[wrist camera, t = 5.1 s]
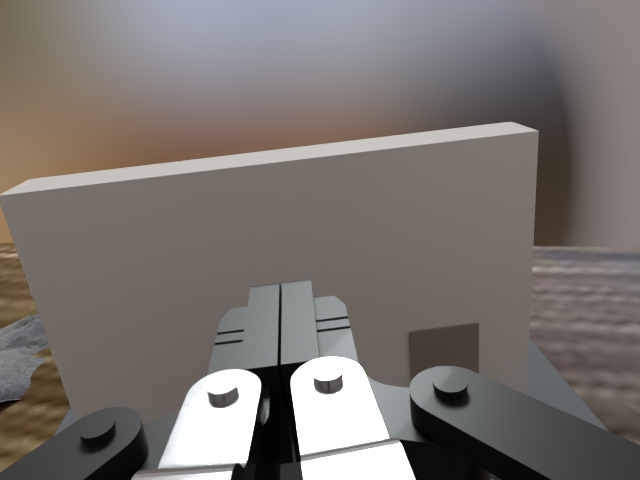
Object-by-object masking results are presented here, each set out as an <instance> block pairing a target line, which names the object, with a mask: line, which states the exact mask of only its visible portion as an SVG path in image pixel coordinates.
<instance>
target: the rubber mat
mask: <svg viewBox="0 0 640 480" xmlns="http://www.w3.org/2000/svg"><path fill="white" fill-rule="evenodd" d="M526 395H528V396H530V397H532V398H535V399H537V400H539V401H541V402H544V403H546V404H548V405H550V406H553V407H555V408H557V409H559V410H562V411H564V412H566V413H568V414H571V415H573V416H575V417H577V418H580V419H582V420H584V421H586V422H589V423H591V424H593V425H595V426H598V427H600V428H602V429H604V430H607V429H606V428H605V427H604V425H603V424H602V423H601V422H600V421H599V419H598V418H597V417H596V416H595V415H594V414H593V412H592V411H591V410H590V409H589V408H588V406H587V405H586V404H585V403H584V402H583V401H582V399H581V398H580V397H579V396H578V395H577V394H576V392H575V391H574V390H573V389H572V388H571V386H570V385H569V384H568V383H567V382H566V381H565V379H564V378H563V377H562V376H561V375H560V373H559V372H558V371H557V370H556V369H555V368H554V366H553V365H552V364H551V363H550V362H549V361H548V359H547V358H546V357H545V356H544V355H543V353H542V352H541V351H540V350H539V349H538V348H537V346H536V345H535V344H534V343H533V342H532V340H531V339H530V338H529V346H528V367H527V389H526ZM75 422H76V420H75V418H74V415H73V412H72V409H71V408H70V409H69V411H68V413H67V415H66V416H65V418H64V420H63V421H62V423H61V425H60V426H59V428H58V430H57V431H56V433H55V435H57V434H58V433H60V432H61V431H63V430H64V429H66V428H67V427H69V426H70V425H72V424H73V423H75ZM607 431H608V430H607ZM55 435H54V436H55ZM54 436H53V437H54ZM491 478H492V479H494V480H501V479H499V478H498V477H496V476H494V475H493V474H491ZM280 480H304V479H303V472H302V464H301V462H296V457H295V450H294V444H293V463H287V464H281V468H280Z"/></svg>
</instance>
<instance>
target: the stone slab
mask: <svg viewBox="0 0 640 480" xmlns="http://www.w3.org/2000/svg"><path fill="white" fill-rule="evenodd" d="M48 346H49V343H48V340H47V337H46V334H45V331H44V328H43V325H42V322H41V320H40V317H39V314H36V315H34V316H28V317H26V318H24V319H22V320H20V321H17V322H15V323H13V324H11V325H9V326H7V327H4V328H2V329H0V402H4V401H8V400H21V399H20V398H21V397H22V396H23V395H24V393H25V392H26V390H27V389H28V388H29V386H30V383H31V380H30V377H31V375H32V373H33V371H35V370H36V368H37V367H38V366H39V365H41V364H42V363H43V362H44V361H45V360H44V359H41V358H33V357H31V355H32V354H34V353H36V352H39V351H40V350H42V349H45V348H47V347H48Z"/></svg>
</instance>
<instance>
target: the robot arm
mask: <svg viewBox="0 0 640 480" xmlns="http://www.w3.org/2000/svg"><path fill="white" fill-rule="evenodd" d="M293 444H294V450H295V457H296V462H301V464H302V472H303V479H304V480H494V479H492V478H491V474H493V475H494V476H496V477H498V478H499V479H501V480H640V445H638V444H636V443H634V442H631V441H629V440H627V439H625V438H622V437H620V436H618V435H616V434H613V433H611V432H609V431H607V430H604V429H602V428H600V427H598V426H595V425H593V424H591V423H589V422H586V421H584V420H582V419H580V418H577V417H575V416H573V415H571V414H568V413H566V412H564V411H562V410H559V409H557V408H555V407H553V406H550V405H548V404H546V403H544V402H541V401H539V400H537V399H535V398H532V397H530V396H528V395H526V394H523V393H521V392H519V391H517V390H514V389H512V388H510V387H508V386H505V385H503V384H501V383H499V382H496V381H494V380H492V379H489V378H487V377H485V376H483V375H480V374H478V373H476V372H474V371H471V370H469V369H466V368H462V367H456V366H438V367H433V368H429V369H426V370H424V371H422V372H420V373H419V374H417V375H416V376H415V377H414V378H413V380H412V381H411V384H410V388H408V387H397V386H390V385H385V384H382V383H379V382H376V381H374V380H372V379H371V378H369V377H368V376H366V375H365V372H364V370H363V369H362V367H361V366H360V365H359V362H358V357H357V353H356V349H355V345H354V340H353V336H352V332H351V328H350V323H349V319H348V314H347V310H346V306H345V304H344V303H343V302H342V301H340V300H339V299H338V298H337V297H336V296H326V297H318V298H313V291H312V283H311V279H306V280H298V281H290V282H282V289H281V285H280V283H275V284H266V285H258V286H251V287H250V293H249V300H248V306H246V307H238V308H231V309H230V310H229V311H228V312H227V313H226V314H225V316H224V317H223V318H222V319H221V320H220V323H219V327H218V331H217V335H216V339H215V346H214V348H213V352H212V356H211V360H210V364H209V369H208V373H207V376H206V377H204V378H202V379H201V380H199V381H198V382H197V383H195V384H194V385H193V386H192V387H191V389H190V390H189V391H188V393H187V395H186V398H185V401H184V403H183V406H182V408H181V410H179V411H177V412H175V413H173V414H171V415H168V416H166V417H163V418H160V419H157V420H154V421H151V422H148V423H145V424H143V423H142V420H141V417H140V415H139V414H138V412H136V411H135V410H133V409H131V408H127V407H110V408H105V409H101V410H98V411H95V412H93V413H90V414H88V415H86V416H84V417H82V418H81V419H79V420H78V421H76V422H75V423H73V424H72V425H70V426H69V427H67V428H66V429H64V430H63V431H61V432H60V433H58V434H57V435H55V436H54V437H52V438H51V439H49V440H48V441H46V442H45V443H43V444H42V445H40V446H39V447H37V448H36V449H34V450H33V451H31V452H30V453H28V454H27V455H25V456H24V457H23V458H21V459H20V460H18V461H17V462H15V463H14V464H12V465H11V466H9V467H8V468H6V469H5V470H3V471H2V472H0V480H280V468H281V464H287V463H293Z"/></svg>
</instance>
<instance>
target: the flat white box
mask: <svg viewBox="0 0 640 480" xmlns="http://www.w3.org/2000/svg"><path fill="white" fill-rule="evenodd" d="M538 132H539V131H538V130H535V129H532V128H528V127H525V126H522V125H519V124H516V123H513V122H505V123H497V124H488V125H479V126H471V127H462V128H454V129H445V130H437V131H429V132H420V133H412V134H404V135H395V136H387V137H379V138H370V139H362V140H354V141H345V142H337V143H329V144H320V145H312V146H303V147H295V148H287V149H278V150H270V151H262V152H253V153H245V154H237V155H228V156H220V157H212V158H203V159H195V160H186V161H178V162H171V163H161V164H153V165H145V166H137V167H128V168H120V169H112V170H103V171H94V172H86V173H78V174H70V175H62V176H53V177H44V178H36V179H29V180H27V181H25V182H23V183H21V184H19V185H18V186H16V187H14V188H12V189H10V190H8V191H6V192H4V193H2V194H0V204H1V207H2V210H3V213H4V216H5V219H6V221H7V224H8V227H9V230H10V233H11V236H12V239H13V242H14V245H15V248H16V250H17V253H18V256H19V259H20V262H21V265H22V268H23V271H24V273H25V276H26V279H27V282H28V285H29V288H30V291H31V294H32V297H33V299H34V302H35V305H36V308H37V311H38V314H39V317H40V320H41V322H42V325H43V328H44V331H45V334H46V337H47V340H48V343H49V346H50V348H51V351H52V354H53V357H54V360H55V363H56V366H57V369H58V371H59V374H60V377H61V380H62V383H63V386H64V389H65V392H66V395H67V397H68V400H69V403H70V406H71V409H72V412H73V415H74V418H75V420H76V421H78V420H79V419H81V418H82V417H84V416H86V415H88V414H90V413H93V412H95V411H98V410H101V409H105V408H110V407H127V408H131V409H133V410H135V411H136V412H138V414H139V415H140V417H141V420H142V423H143V424H145V423H148V422H151V421H154V420H157V419H160V418H163V417H166V416H168V415H171V414H173V413H175V412H177V411H179V410H181V408H182V406H183V403H184V401H185V398H186V395H187V393H188V391H189V390H190V389H191V387H192V386H193V385H194V384H195V383H197V382H198V381H199V380H201V379H202V378H204V377H206V376H207V373H208V369H209V364H210V360H211V356H212V352H213V348H214V346H215V339H216V335H217V331H218V327H219V323H220V320H221V319H222V318H223V317H224V316H225V314H226V313H227V312H228V311H229V310H230V309H231V308H238V307H246V306H248V300H249V293H250V287H251V286H258V285H266V284H275V283H280V285H281V289H282V282H290V281H298V280H306V279H311V283H312V291H313V298H318V297H326V296H336V297H337V298H338V299H339V300H340V301H342V302H343V303H344V304H345V306H346V310H347V314H348V319H349V323H350V328H351V332H352V336H353V340H354V345H355V349H356V353H357V357H358V362H359V365H360V366H361V367H362V369H363V370H364V372H365V375H366V376H368V377H369V378H371V379H372V380H374V381H376V382H379V383H382V384H385V385H390V386H397V387H408V388H410V384H411V381H412V380H413V378H414V377H415V376H416V375H417V374H419V373H420V372H422V371H424V370H426V369H429V368H433V367H438V366H456V367H462V368H466V369H469V370H471V371H474V372H476V373H478V374H480V375H483V376H485V377H487V378H489V379H492V380H494V381H496V382H499V383H501V384H503V385H505V386H508V387H510V388H512V389H514V390H517V391H519V392H521V393H523V394H526V389H527V367H528V346H529V324H530V303H531V282H532V260H533V239H534V217H535V196H536V174H537V153H538Z"/></svg>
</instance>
